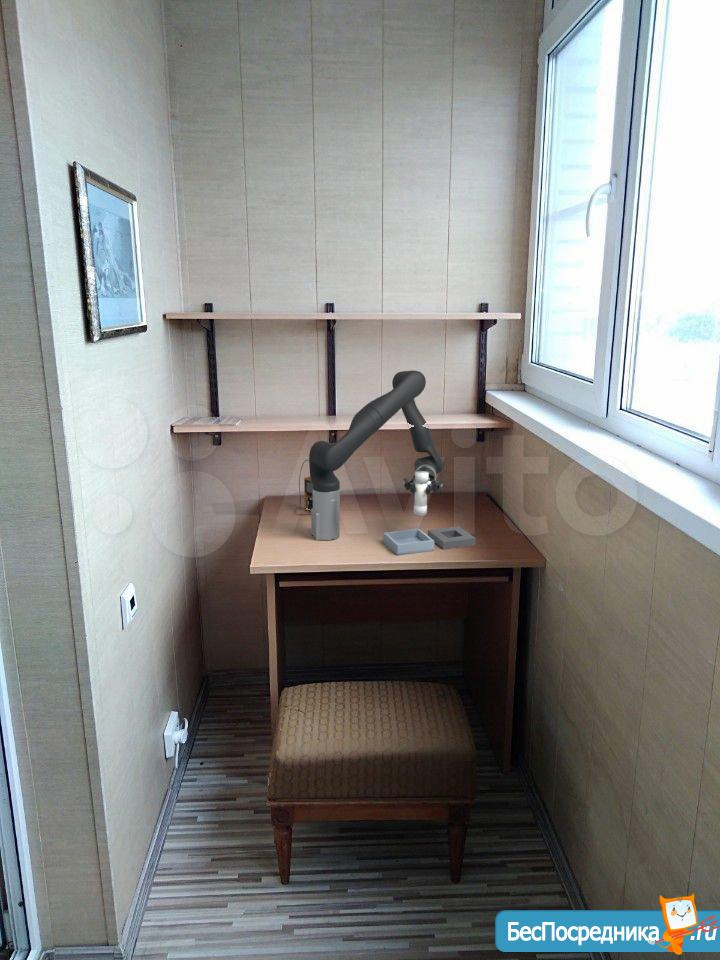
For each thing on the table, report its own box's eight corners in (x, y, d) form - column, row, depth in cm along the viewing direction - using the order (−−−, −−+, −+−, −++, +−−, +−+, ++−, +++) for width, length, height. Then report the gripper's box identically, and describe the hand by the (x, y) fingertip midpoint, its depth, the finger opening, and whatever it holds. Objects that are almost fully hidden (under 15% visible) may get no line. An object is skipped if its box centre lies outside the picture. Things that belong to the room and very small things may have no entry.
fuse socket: (443, 549, 223) (443, 542, 223) (427, 536, 234) (427, 530, 233) (475, 544, 227) (475, 537, 227) (458, 532, 238) (458, 526, 237)
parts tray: (397, 555, 218) (397, 545, 217) (383, 542, 229) (383, 532, 228) (433, 550, 222) (434, 540, 221) (418, 538, 233) (418, 528, 232)
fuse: (416, 516, 221) (418, 475, 217) (411, 512, 225) (412, 471, 221) (428, 515, 222) (430, 474, 218) (423, 510, 226) (425, 470, 222)
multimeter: (284, 512, 258) (282, 461, 252) (303, 506, 265) (302, 457, 259) (310, 521, 248) (309, 469, 243) (329, 515, 255) (329, 464, 250)
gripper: (404, 465, 235) (398, 478, 218) (445, 468, 232) (442, 481, 216) (404, 486, 237) (398, 500, 220) (444, 489, 234) (441, 503, 218)
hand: (420, 491), depth 218 cm, fingers closed on fuse, 4 cm apart
